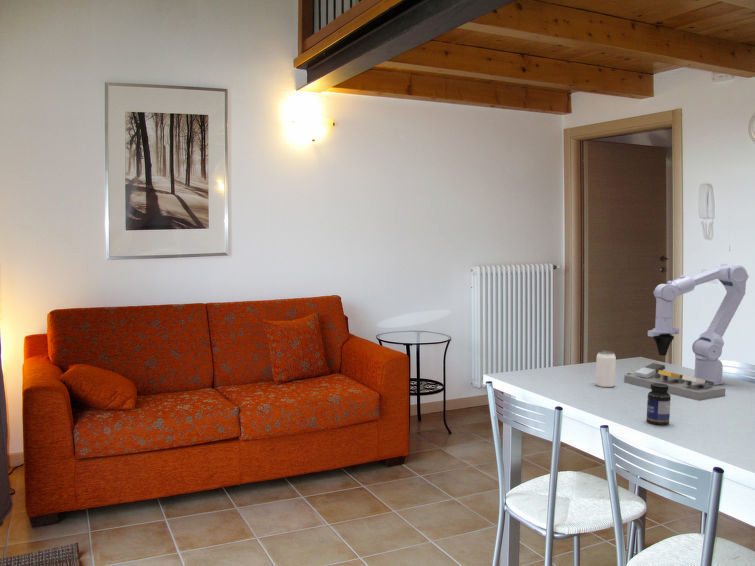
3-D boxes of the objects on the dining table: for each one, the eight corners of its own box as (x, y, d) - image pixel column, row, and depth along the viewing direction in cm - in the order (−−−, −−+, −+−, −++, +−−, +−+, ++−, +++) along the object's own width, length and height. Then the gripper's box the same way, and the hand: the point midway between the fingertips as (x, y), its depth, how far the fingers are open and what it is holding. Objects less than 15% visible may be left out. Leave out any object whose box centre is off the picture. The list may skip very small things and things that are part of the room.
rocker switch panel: (639, 375, 261) (640, 364, 260) (725, 395, 231) (725, 382, 230) (614, 379, 254) (614, 367, 253) (698, 400, 224) (699, 387, 223)
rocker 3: (699, 383, 236) (700, 379, 236) (713, 386, 232) (714, 382, 232) (682, 379, 231) (682, 375, 231) (695, 382, 227) (696, 377, 227)
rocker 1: (653, 366, 253) (653, 362, 252) (665, 368, 248) (664, 365, 248) (635, 375, 248) (634, 371, 248) (646, 378, 244) (646, 374, 243)
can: (615, 388, 240) (617, 354, 239) (596, 387, 241) (597, 353, 240) (613, 384, 246) (614, 351, 245) (594, 383, 247) (595, 350, 246)
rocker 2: (675, 377, 245) (676, 374, 245) (688, 380, 240) (689, 376, 240) (658, 373, 240) (658, 369, 240) (670, 376, 235) (671, 372, 235)
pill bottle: (642, 419, 200) (644, 382, 199) (662, 419, 201) (664, 382, 200) (652, 425, 194) (654, 387, 193) (673, 425, 195) (675, 387, 194)
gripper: (667, 315, 253) (666, 351, 254) (641, 317, 246) (639, 354, 247) (684, 317, 247) (683, 354, 248) (658, 319, 240) (656, 358, 241)
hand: (662, 355), depth 247 cm, fingers closed
